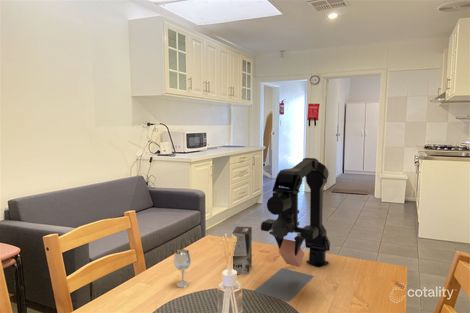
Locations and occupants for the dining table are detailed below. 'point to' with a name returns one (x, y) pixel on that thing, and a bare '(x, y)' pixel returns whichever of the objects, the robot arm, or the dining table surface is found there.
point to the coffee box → (243, 250)
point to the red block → (291, 253)
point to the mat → (284, 284)
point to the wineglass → (182, 264)
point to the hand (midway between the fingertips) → (288, 253)
